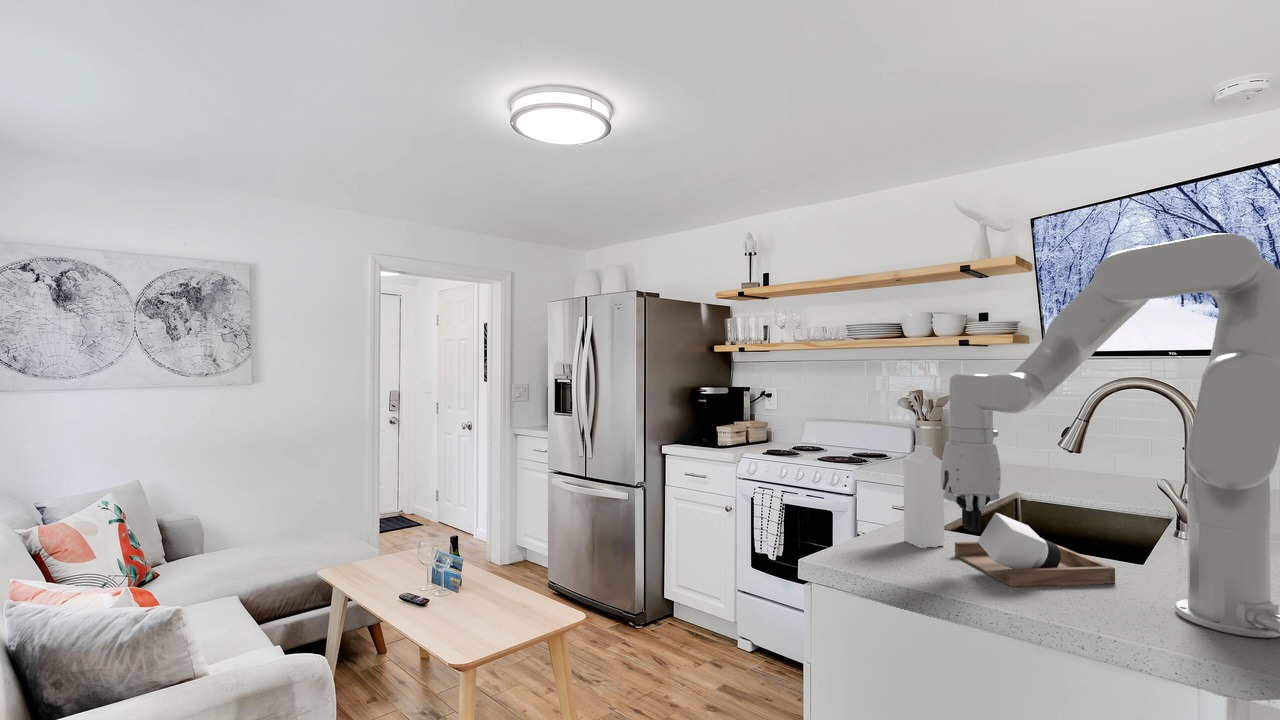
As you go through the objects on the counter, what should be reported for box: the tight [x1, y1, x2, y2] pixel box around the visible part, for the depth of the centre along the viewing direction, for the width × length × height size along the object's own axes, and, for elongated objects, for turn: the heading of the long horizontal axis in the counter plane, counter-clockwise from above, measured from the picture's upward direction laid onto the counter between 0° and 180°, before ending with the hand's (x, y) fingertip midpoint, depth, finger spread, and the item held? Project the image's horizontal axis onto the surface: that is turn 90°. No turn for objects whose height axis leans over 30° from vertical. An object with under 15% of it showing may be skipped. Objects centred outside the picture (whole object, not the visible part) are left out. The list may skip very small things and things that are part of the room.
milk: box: [903, 444, 945, 549], centre depth 141 cm, size 6×6×22 cm
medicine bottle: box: [977, 512, 1061, 569], centre depth 119 cm, size 7×7×12 cm
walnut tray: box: [954, 541, 1116, 587], centre depth 123 cm, size 18×20×3 cm
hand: (971, 529), depth 123 cm, fingers closed
